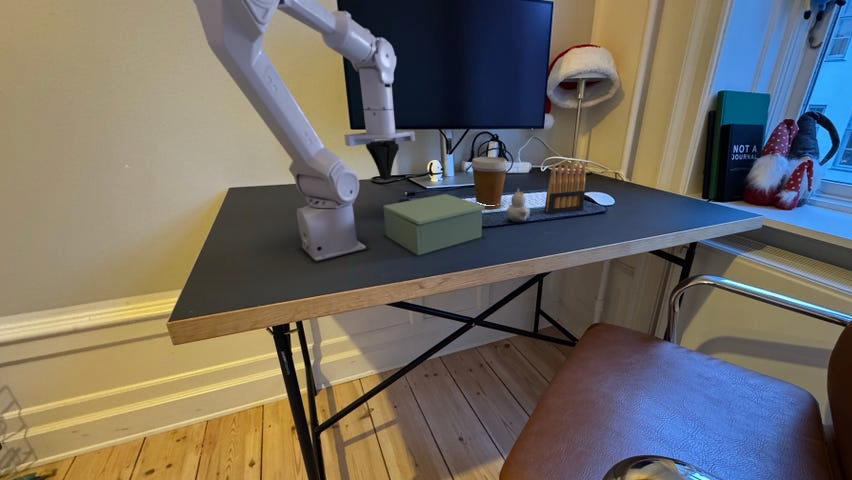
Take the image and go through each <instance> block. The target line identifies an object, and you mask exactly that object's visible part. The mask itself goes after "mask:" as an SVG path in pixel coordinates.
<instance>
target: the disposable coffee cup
mask: <svg viewBox="0 0 852 480" xmlns="http://www.w3.org/2000/svg"><path fill="white" fill-rule="evenodd" d="M470 166H471V169H472V175H473V185H474V186H473V187H474V194H475V195H474V196H475V203H476V201H477V202H479V203H482V204H486V205H495V206H485V209H484V210H495V209H499V208H500V207H501V202H502V196H503V190H504V185H505V179H506V173H507V170H508V167H509V164H508V161H507V159H506V158H504V157H498V156H497V157H496V156H478V157H474V158H472V161H471V163H470ZM476 204H477V203H476ZM497 204H499V205H497ZM483 206H484V205H483Z"/></svg>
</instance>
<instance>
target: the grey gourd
mask: <svg viewBox="0 0 852 480" xmlns="http://www.w3.org/2000/svg"><path fill="white" fill-rule="evenodd" d="M510 202H511V204H510V205H509V206H508V207H507V209H506V218H507V219H509V220H510V221H512V222H515V223H519V222H524V221H526V220H527V219H528V218H529V217H530V213H531V210H530V208H529V207H527V206H526V205H525V204H526V197H525V194H524V192H523V191H520V188H519V187H517V191H515V192H514V194H513V195H512V196H511V201H510Z"/></svg>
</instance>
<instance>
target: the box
mask: <svg viewBox="0 0 852 480" xmlns="http://www.w3.org/2000/svg"><path fill="white" fill-rule="evenodd" d="M383 218H384V227H385V236H386V237H387V238H388V239H390V240H392V241H393V242H395V243H397V244H399V245H400V246H401V247H403V248H405V249H406V250H408V251H410V252H411V253H413V254H415V255H417V256H421V255H424V254H429V253H432V252H435V251H438V250H441V249H442V250H443V249H445V248H449V247H452V246H456V245H459V244H463V243H466V242H469V241H473V240H476V239H480V238H482V236H483V235H482V233H483V232H482V231H483V210H480V211H475V212H471V213H467V214H463V215H458V216H454V217H450V218H445V219H441V220H437V221H433V222H428V223H424V224H420V225H418V224H416V223H413V222H411V221H409V220H407V219H405V218H402V217H400V216H398V215H396V214H394V213H391V212H389V211H387V210H385V209H383Z"/></svg>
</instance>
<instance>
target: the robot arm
mask: <svg viewBox="0 0 852 480" xmlns="http://www.w3.org/2000/svg"><path fill="white" fill-rule="evenodd" d="M192 2H193V3H194V4H195V7H196V10H197V13H198V16H199V19H200V22H201V26H202V30H203V33H204V36H205V39H206V41H207V44H208V46H209V49H210V50H211V52H212V53H213V55H214V56H215V57H216V59H217V60H218V61H219V62H220V63H221V65H222V66H223V68H224V69H225V71H226V72H227V74H228V75H229V76H230V77H231V78H232V80H233V81H234V83H235V84H236V85H237V87H238V88H239V90H240V91H241V93H242V94H243V96H244V97H245V98H246V100H248V102H249V103H250V104H251V106H252V108H253V109H254V110H255V112H256V113H257V114H258V116H259V117H260V119H261V120H262V121H263V123H264V124H265V125H266V126H267V128H268V129H269V131H270V132H271V134H272V135H273V136H274V138H275V139H276V140H277V141H278V142H279V144H280V146H281V147H282V148H283V150H284V151H285V152H286V154H287V155H288V157H289V158H290V159H291V163H290V164H289V166H288V171H289V172H290V174H291V176H292V177H293V179H294V182H295V186H296V189H297V191H298V192H299V193H300V194H301V196H303V197H305V200H306V203H307V204H308V205H306V206H304V207H299V208H297V210H296V220H297V224H298V230H299V234H300V239H301V244H302V246H301V247H302V250H304V251H305V252H306V253H307V254H308V255H309V256H310V258H311V259H313V260H314V261H315V262H319V261H324V260H327V259H332V258H335V257H340V256H343V255H347V254H351V253H355V252H359V251H363V250H366V249H367V246H366V245H365V244H363V243H362V242H360V241H359V240H358V237H357V229H356V222H355V221H356V220H355V215H354V208H353V207H354V206H353V204H355V200H356V199H357V197H358V195H359V192H360V191H359V190H360V180H359V178H358V175H357V173H356V172H355V171H354V169H352V168H350V167H349V166H347V165H346V164H345V162H344V160H343V159H342V158H341V157H340V156H338V155H337V154H336V153H334V152H332V151H331V150H329V149H328V148H326V147H325V145H324V144H323V142H322V141H321V139H320V138H319V136H318V134H317V133H316V131H315V130H314V128H313V126H312V125H311V123H310V122H309V120H308V118H307V117H306V115H305V114H304V112H303V111H302V109H301V107H300V106H299V104H298V102H297V101H296V99H295V98H294V97H293V95H292V93H291V91H290V90H289V89H288V87H287V85H286V84H285V82H284V80H283V78H282V77H281V75H280V74H279V72H278V71H277V69H276V67H275V66H274V65H273V63H272V61H271V60H270V58H269V56H268V55H267V53H266V52H265V50H264V48H263V39H264V34H265V31H266V30H267V28H268V26H269V24H270V22H271V20H272V17H273V16H274V13H275V11H276V10H279V11H281V12H282V13H284V14H285V15H287V16H289V17H291V18H293V19H295V20H296V21H298V22H300V23H302V24H303V25H305V26H307V27H309V28H310V29H313V30H314V31H315V32H318V33H319V34H321V38H322V41H323V43H324V44H325V45H326V47H327V48H329V49H331V50H333V51H334V52H336V53H337V54H338V55H340V56H342V57H344V58H345V59H347V60H348V61H350V63H351V65H352V67H353V68H354V70H355V71H356V72H357V73H359V80H360V89H361V98H362V106H363V116H364V117H363V118H364V124H365V132H359V133H351V134H350V133H349V134H344V143H345V144H344V145H345V146H347V147H355V146H362V145H364V146H365V148H366V150H367V151H368V153H369V154H370V156H371V158H372V160H373V161H374V164H375V166H376V168H377V171H378V175H379V178H380V179H381V180H384V181H387V180H388V181H389V180H391V179H392V171H393V166H394V163H395V158H396V155H397V154H398V151H399V150H400V144H399V142H416V134H415V131H414V130H396V124H395V123H396V122H395V111H394V99H393V86H392V84H393V83H394V80H395V78H394V72H395V70H396V69H395V68H396V66H397V55H395V54H396V53H395V51H394V48H393V46H392V44H391V43H390V42H389V41H388V40H387V39H386V38H384V37H382V36H381V37H375V35H373V34H372V33H371V31H370V30H369V29H368V28H366V27H362V25H360V24H359V23H357V22H356V21H355V20H354V19H352V15H351V13H349V12H348V11H346V10H333V11H330V10H328V9H327V8H326V7H325V6H323V5H322V4H321V3H320V2H319V1H318V0H192Z"/></svg>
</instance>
